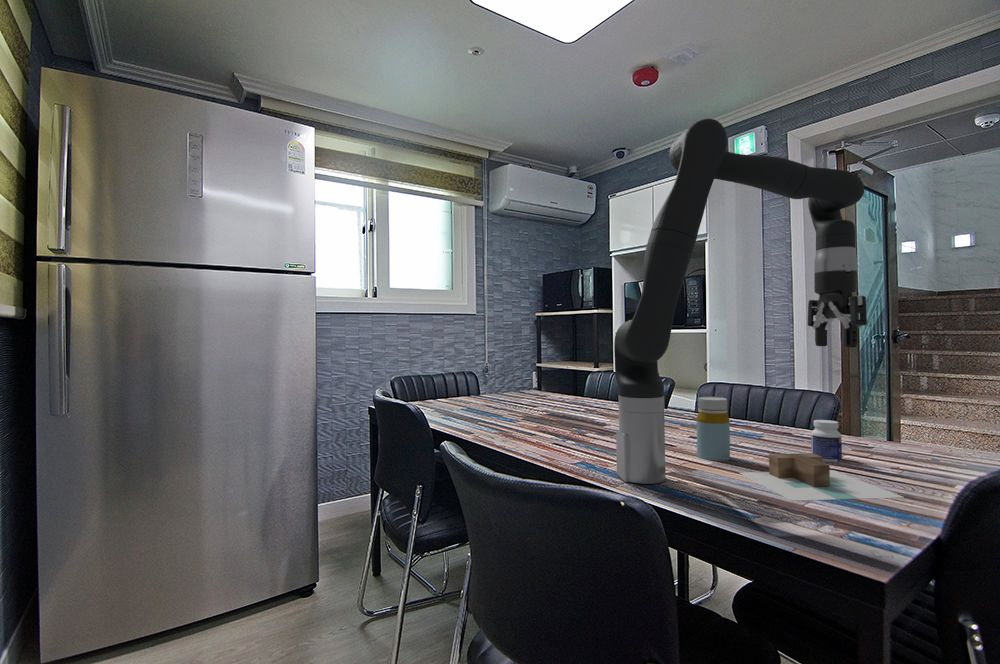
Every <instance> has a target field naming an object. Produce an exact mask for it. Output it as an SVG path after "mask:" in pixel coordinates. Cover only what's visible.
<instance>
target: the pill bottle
mask: <svg viewBox="0 0 1000 664" xmlns="http://www.w3.org/2000/svg"><path fill="white" fill-rule="evenodd" d="M839 423H840V422H839V421H837V420H836V421H835V420H830V419H828V420H827V419H815V420H813V426H814V429H813V430H812V431H811V433H810V434H811V435H810V436H811V441H810V443H811V445H810V446H811V450H810V451H811V452H810V453H813V454H816V455H819V456H822V457H823V462H824V463H825V462H826V463H840V462H842V461H843V447H842V443H843V441H842V439H843V438H842V434H841V432H839V430H838V429H839V427H840V426H839V425H840V424H839Z"/></svg>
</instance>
